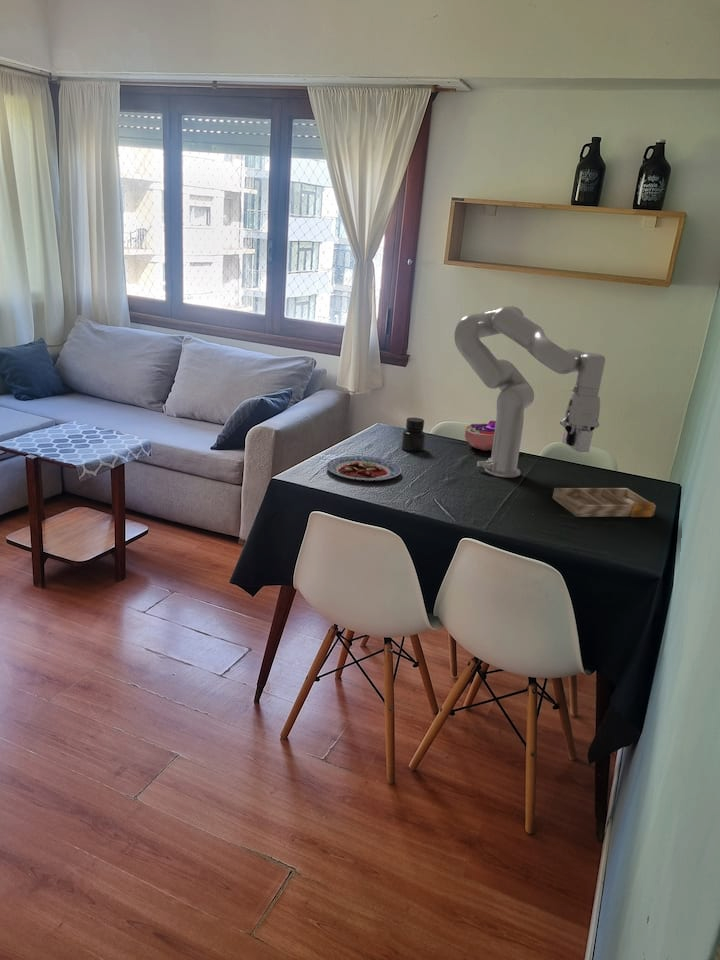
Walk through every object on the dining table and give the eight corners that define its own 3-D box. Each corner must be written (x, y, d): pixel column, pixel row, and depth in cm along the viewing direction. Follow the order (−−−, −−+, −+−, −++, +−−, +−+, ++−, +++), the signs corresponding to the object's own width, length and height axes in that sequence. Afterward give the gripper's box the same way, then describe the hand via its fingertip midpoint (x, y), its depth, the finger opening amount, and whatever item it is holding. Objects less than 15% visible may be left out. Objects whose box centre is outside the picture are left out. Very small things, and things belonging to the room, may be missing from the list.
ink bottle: (427, 449, 264) (431, 419, 260) (420, 454, 256) (423, 423, 252) (404, 444, 267) (407, 415, 264) (397, 449, 260) (399, 419, 256)
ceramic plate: (378, 491, 213) (379, 482, 213) (311, 474, 225) (311, 465, 224) (413, 472, 235) (414, 464, 234) (350, 457, 247) (350, 449, 246)
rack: (577, 517, 203) (580, 503, 202) (552, 498, 219) (554, 485, 217) (654, 516, 209) (658, 503, 207) (625, 497, 224) (627, 485, 223)
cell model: (452, 446, 271) (455, 418, 267) (487, 441, 282) (491, 415, 278) (482, 457, 258) (486, 429, 254) (517, 452, 269) (521, 424, 266)
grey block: (577, 451, 220) (582, 431, 218) (562, 442, 230) (566, 422, 228) (588, 452, 221) (593, 431, 219) (572, 442, 231) (576, 422, 229)
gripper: (568, 392, 214) (557, 447, 220) (615, 395, 218) (603, 448, 224) (557, 387, 221) (547, 440, 227) (603, 390, 225) (592, 442, 231)
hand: (575, 444), depth 225 cm, fingers closed on grey block, 4 cm apart
